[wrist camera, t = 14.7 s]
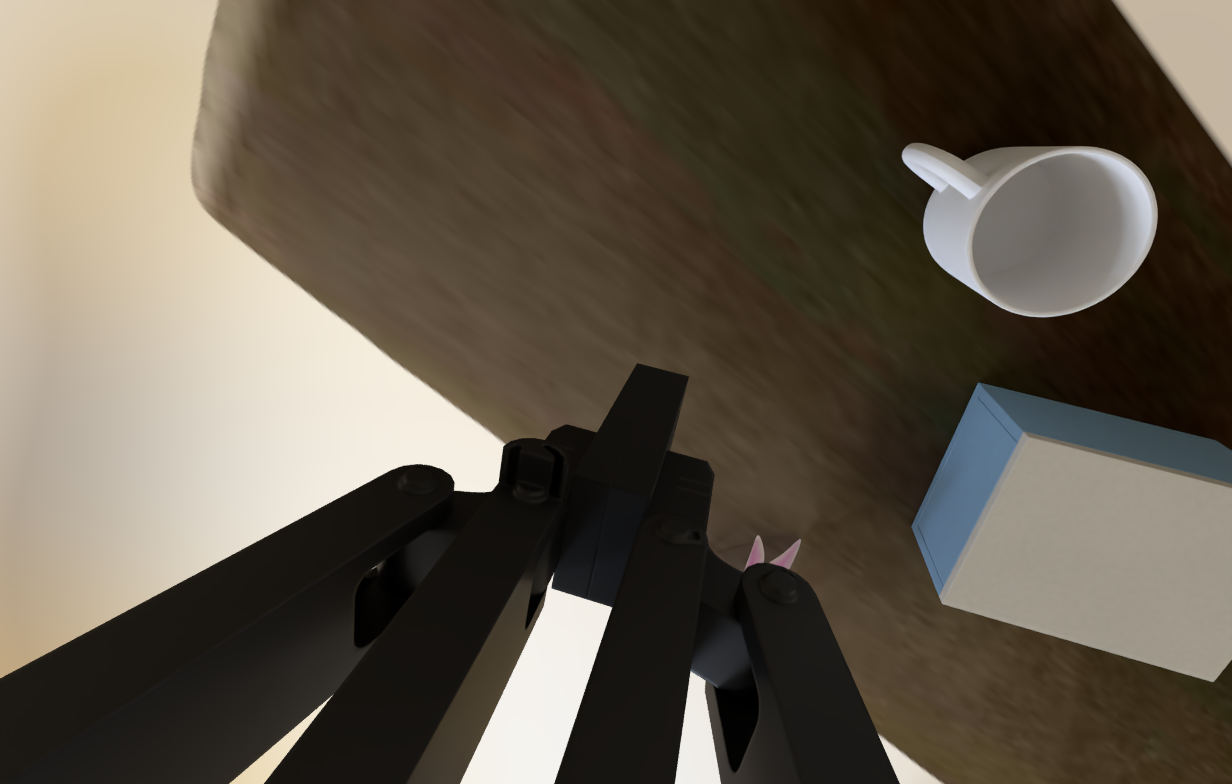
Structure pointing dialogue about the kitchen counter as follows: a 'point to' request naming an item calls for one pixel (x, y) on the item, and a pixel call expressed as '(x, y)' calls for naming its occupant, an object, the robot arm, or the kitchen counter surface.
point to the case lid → (1105, 556)
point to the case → (994, 437)
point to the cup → (1037, 223)
